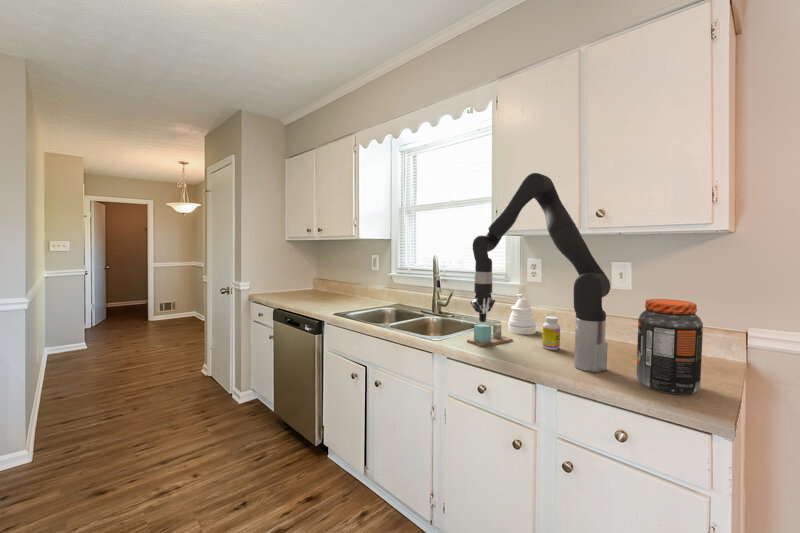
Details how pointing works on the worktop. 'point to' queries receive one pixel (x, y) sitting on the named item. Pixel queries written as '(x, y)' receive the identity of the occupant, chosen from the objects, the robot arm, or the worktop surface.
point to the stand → (493, 338)
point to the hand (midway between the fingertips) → (482, 321)
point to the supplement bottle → (551, 334)
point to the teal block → (482, 333)
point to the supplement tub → (670, 346)
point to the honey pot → (522, 318)
